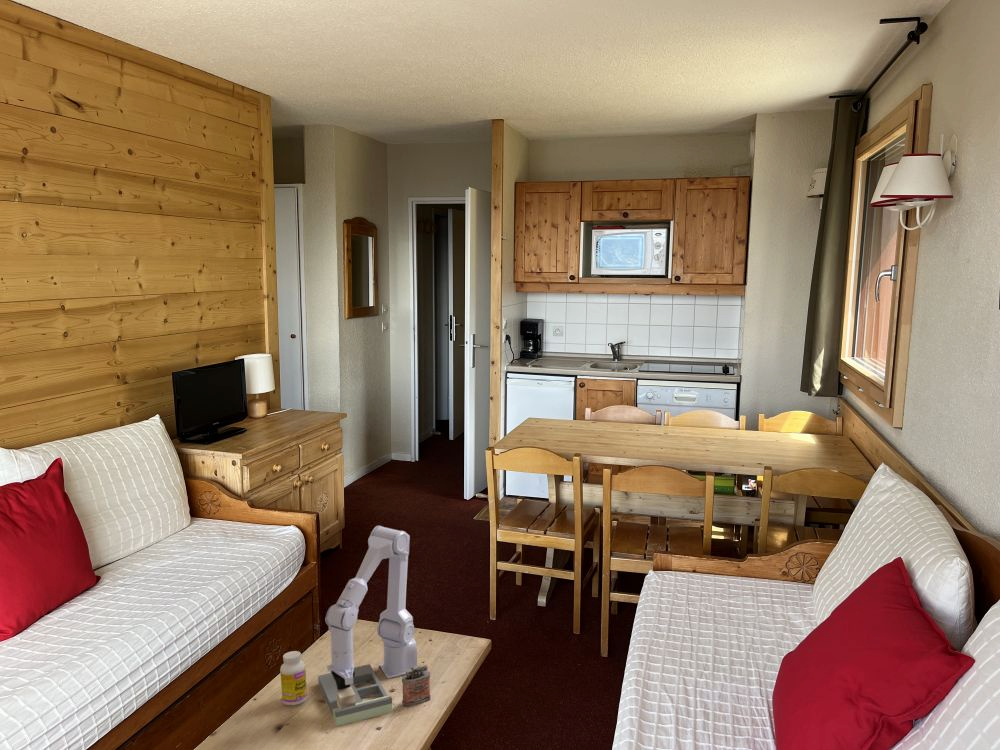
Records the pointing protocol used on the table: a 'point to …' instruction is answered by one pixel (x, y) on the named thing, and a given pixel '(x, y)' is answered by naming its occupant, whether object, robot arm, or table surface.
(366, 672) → the grey divided tray
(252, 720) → the table surface
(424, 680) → the ornate red tin
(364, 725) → the table surface
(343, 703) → the block
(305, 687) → the supplement bottle
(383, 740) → the table surface
